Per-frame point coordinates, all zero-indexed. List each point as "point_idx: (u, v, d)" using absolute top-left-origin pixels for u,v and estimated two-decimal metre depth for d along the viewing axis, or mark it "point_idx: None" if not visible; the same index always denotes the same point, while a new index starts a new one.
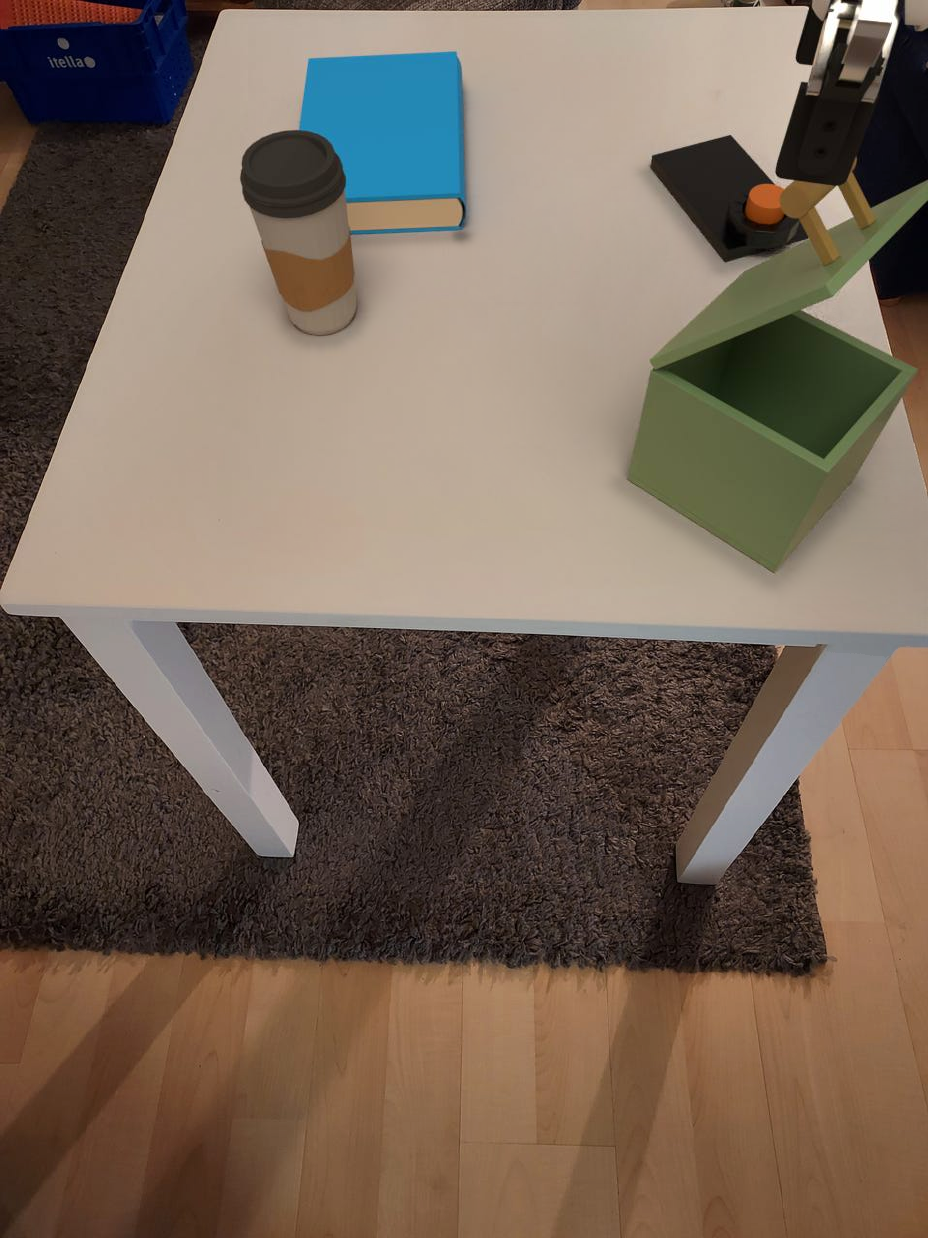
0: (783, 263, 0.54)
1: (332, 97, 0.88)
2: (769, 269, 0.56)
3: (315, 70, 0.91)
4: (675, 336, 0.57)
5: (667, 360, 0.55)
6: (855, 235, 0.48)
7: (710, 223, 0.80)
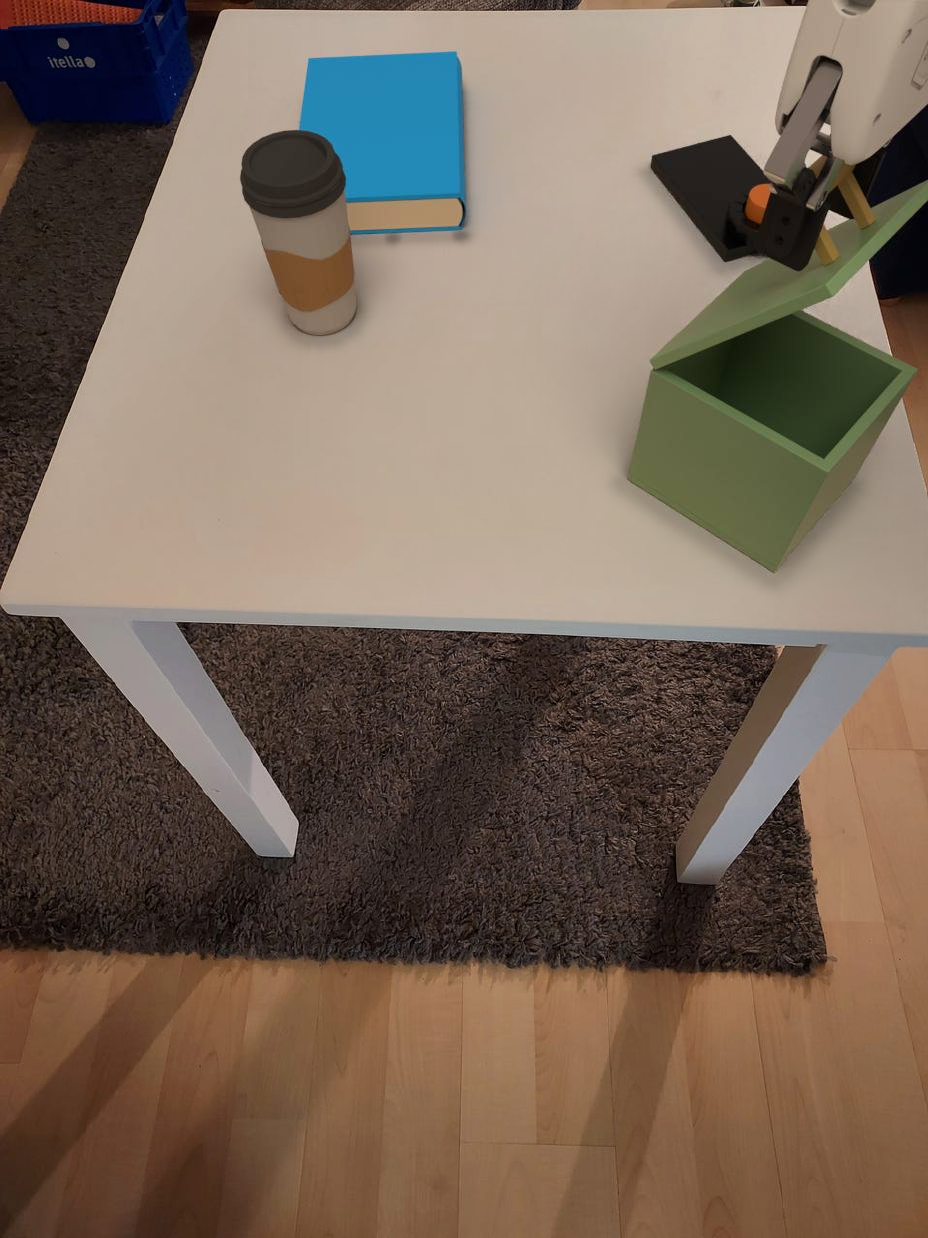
0: None
1: (332, 97, 0.88)
2: (769, 269, 0.56)
3: (315, 69, 0.91)
4: (675, 336, 0.57)
5: (667, 360, 0.55)
6: (855, 235, 0.48)
7: (710, 223, 0.80)
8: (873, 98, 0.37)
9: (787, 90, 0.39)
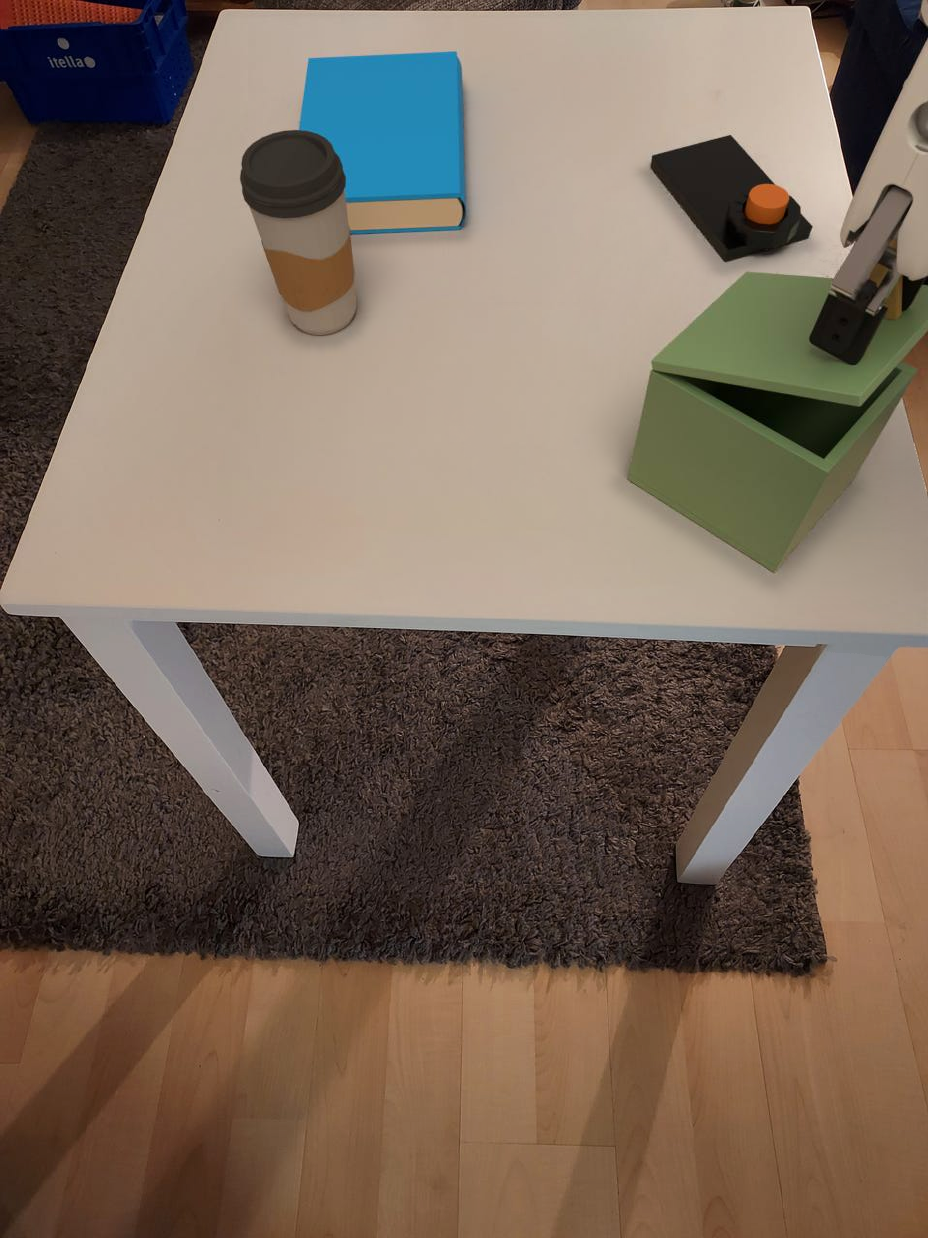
0: (797, 301, 0.56)
1: (332, 97, 0.88)
2: (780, 298, 0.56)
3: (315, 69, 0.91)
4: (678, 337, 0.57)
5: (670, 370, 0.56)
6: (880, 325, 0.51)
7: (710, 223, 0.80)
8: None
9: (855, 210, 0.41)
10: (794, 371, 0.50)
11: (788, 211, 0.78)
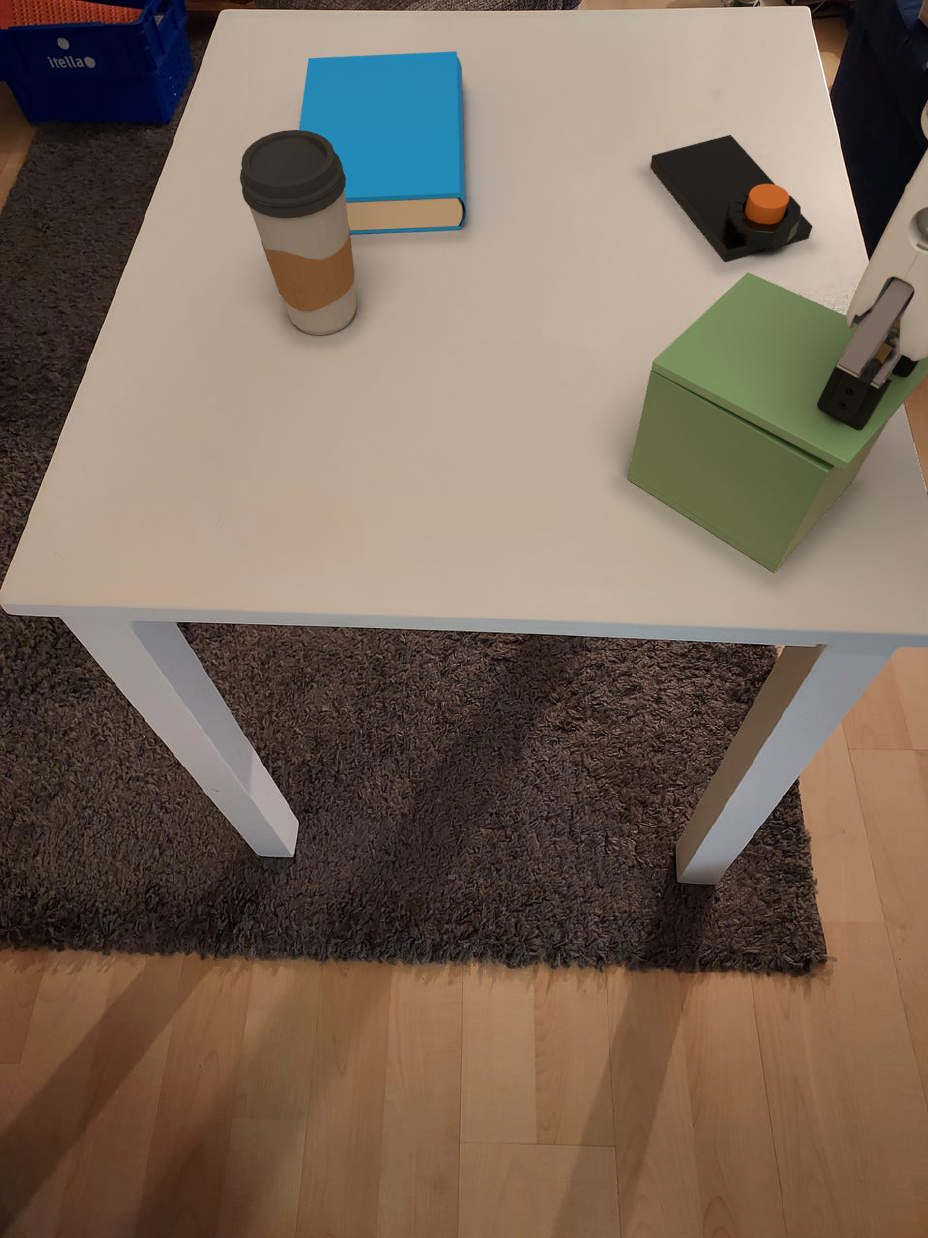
0: (795, 328, 0.57)
1: (332, 97, 0.88)
2: (780, 319, 0.58)
3: (315, 69, 0.91)
4: (679, 339, 0.57)
5: (670, 376, 0.56)
6: None
7: (710, 223, 0.80)
8: None
9: (860, 297, 0.44)
10: (790, 416, 0.53)
11: (788, 211, 0.78)
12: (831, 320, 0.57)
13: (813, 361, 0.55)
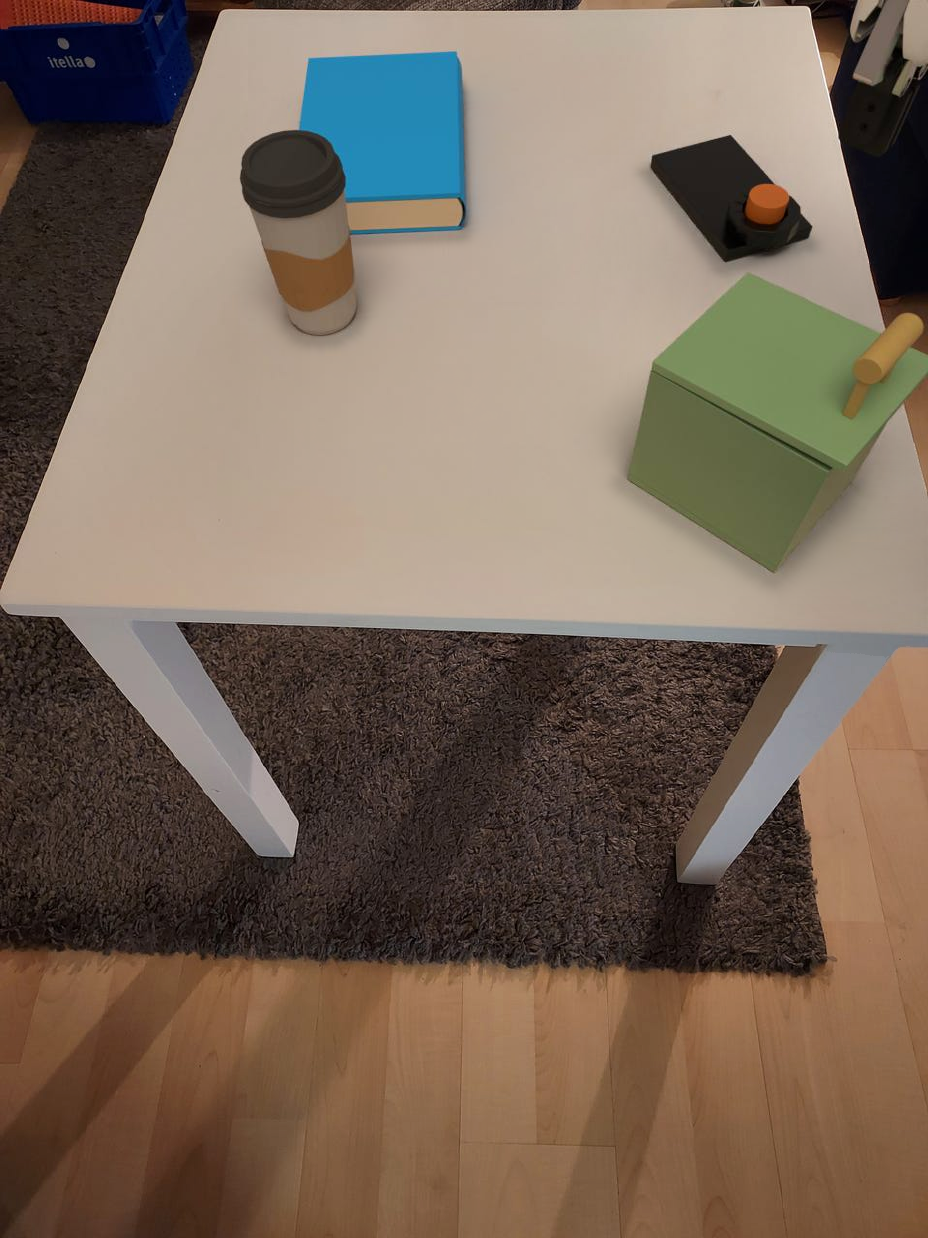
0: (795, 329, 0.57)
1: (332, 97, 0.88)
2: (780, 320, 0.58)
3: (315, 69, 0.91)
4: (680, 339, 0.57)
5: (670, 376, 0.56)
6: None
7: (710, 223, 0.80)
8: None
9: None
10: (790, 418, 0.53)
11: (788, 211, 0.78)
12: (831, 321, 0.57)
13: (813, 363, 0.55)
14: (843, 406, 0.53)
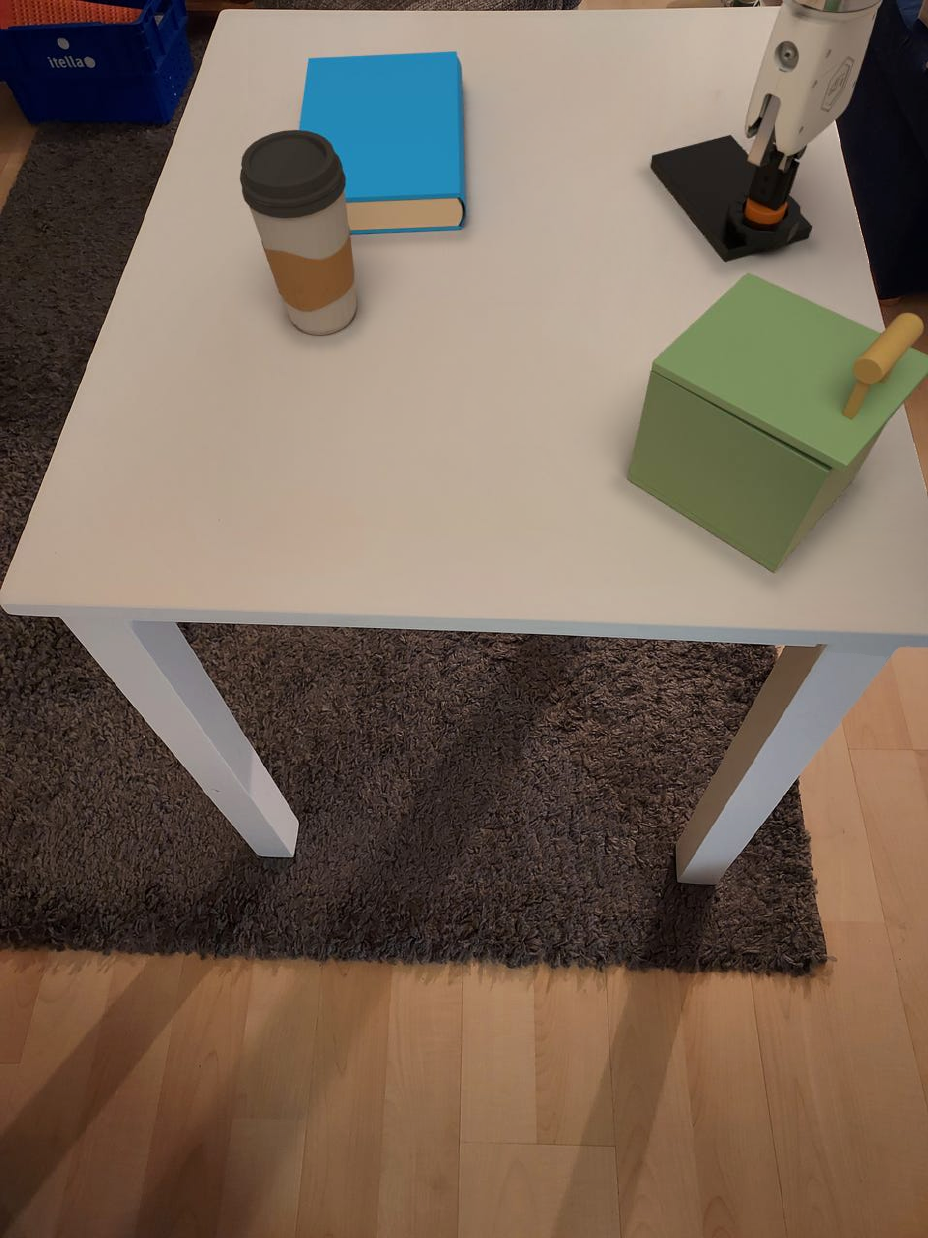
0: (795, 329, 0.57)
1: (332, 97, 0.88)
2: (780, 320, 0.58)
3: (315, 69, 0.91)
4: (680, 339, 0.57)
5: (670, 376, 0.56)
6: None
7: (710, 223, 0.80)
8: (798, 117, 0.66)
9: (750, 112, 0.68)
10: (790, 418, 0.53)
11: (788, 211, 0.78)
12: (831, 321, 0.57)
13: (813, 363, 0.55)
14: (843, 406, 0.53)
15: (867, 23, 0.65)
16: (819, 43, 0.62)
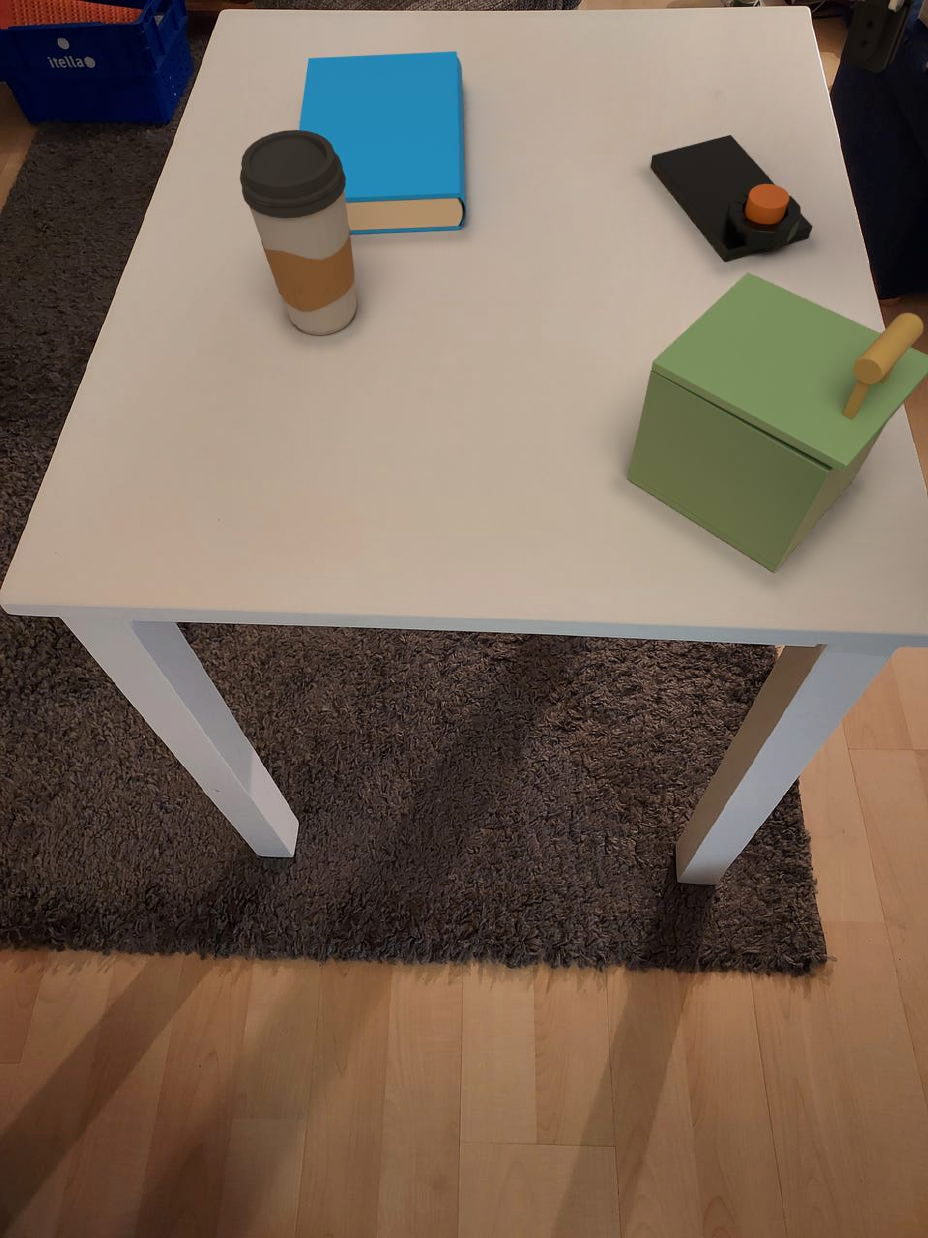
0: (795, 329, 0.57)
1: (332, 97, 0.88)
2: (780, 320, 0.58)
3: (315, 69, 0.91)
4: (680, 339, 0.57)
5: (670, 376, 0.56)
6: None
7: (710, 223, 0.80)
8: None
9: None
10: (790, 418, 0.53)
11: (788, 211, 0.78)
12: (831, 321, 0.57)
13: (813, 363, 0.55)
14: (843, 406, 0.53)
15: None
16: None
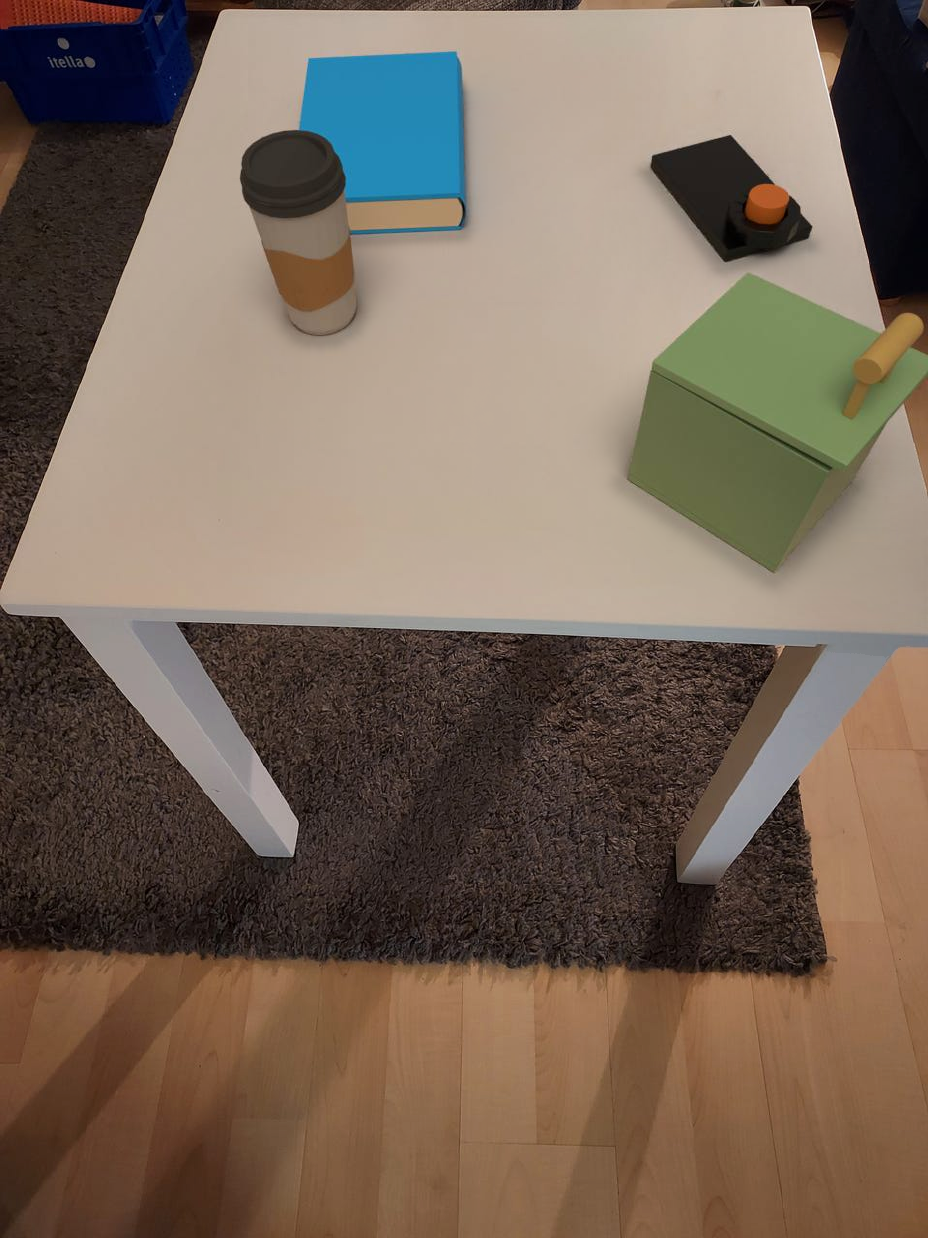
0: (795, 329, 0.57)
1: (332, 97, 0.88)
2: (780, 320, 0.58)
3: (315, 69, 0.91)
4: (680, 339, 0.57)
5: (670, 376, 0.56)
6: None
7: (710, 223, 0.80)
8: None
9: None
10: (790, 418, 0.53)
11: (788, 211, 0.78)
12: (831, 321, 0.57)
13: (813, 363, 0.55)
14: (843, 406, 0.53)
15: None
16: None
